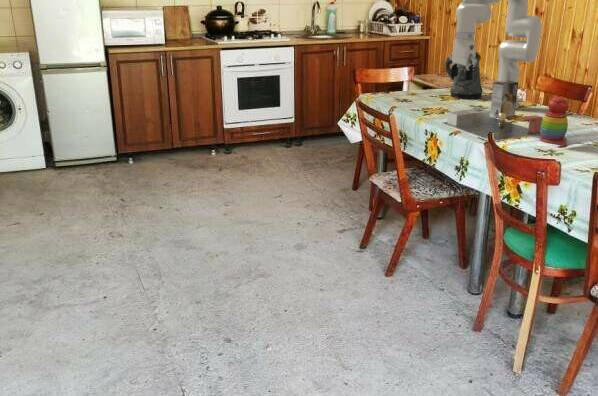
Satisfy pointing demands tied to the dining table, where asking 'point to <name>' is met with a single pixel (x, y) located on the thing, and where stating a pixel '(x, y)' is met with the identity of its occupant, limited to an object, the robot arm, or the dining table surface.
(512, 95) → the coffee box
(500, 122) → the pintle
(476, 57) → the beer stein
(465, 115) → the link
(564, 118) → the stacking bear
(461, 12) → the robot arm
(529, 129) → the keeper
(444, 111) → the dining table surface
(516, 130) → the base plate
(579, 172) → the dining table surface
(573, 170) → the dining table surface
